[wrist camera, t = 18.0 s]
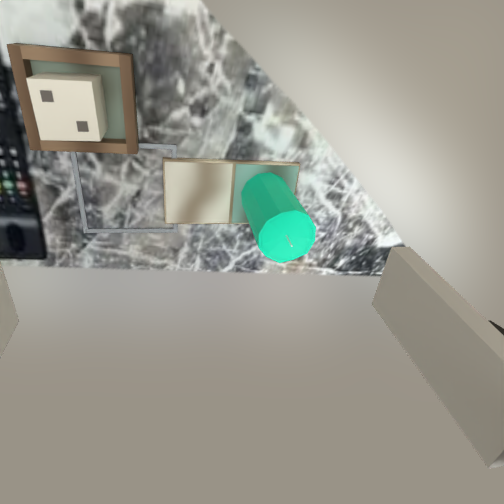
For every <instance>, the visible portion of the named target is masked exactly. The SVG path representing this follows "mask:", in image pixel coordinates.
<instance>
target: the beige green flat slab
mask: <svg viewBox="0 0 504 504" xmlns="http://www.w3.org/2000/svg"><path fill="white" fill-rule="evenodd" d="M299 169H300V163H299V162H274V161H247V160H220V159H193V158H166V157H163V182H164V212H165V224H249V221H248V219H247V216H246V213H245V211H244V208H243V206H242V197H241V192H242V190H243V188H244V186H245V184H246V182H247V181H248V180H249V179H251V178H252V177H254V176H255V175H257V174H259V173H270V172H271V173H273V174H275V175H278V176H280V177H282V178H283V180H284V181H285V183H286V184H287V185H288V187H289V188H290V190H291V191H292V193H293V194H294V195H295V193H296V187H297V181H298V175H299Z"/></svg>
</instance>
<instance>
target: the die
mask: <svg viewBox="0 0 504 504" xmlns="http://www.w3.org/2000/svg"><path fill="white" fill-rule="evenodd" d="M26 80H27V84H28V88H29V93H30V97H31V101H32V105H33V110H34V114H35V118H36V122H37V126H38V131H39V135H40V139H41V140H55V141H101V140H102V138H103V136H104V135H105V133H106V131H107V130H108V121H107V114H106V107H105V99H104V92H103V85H102V77H101V74H84V73H65V72H47V71H44V72H41V73H39V74H36V75H33V76H31V77H28V78H26Z"/></svg>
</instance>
